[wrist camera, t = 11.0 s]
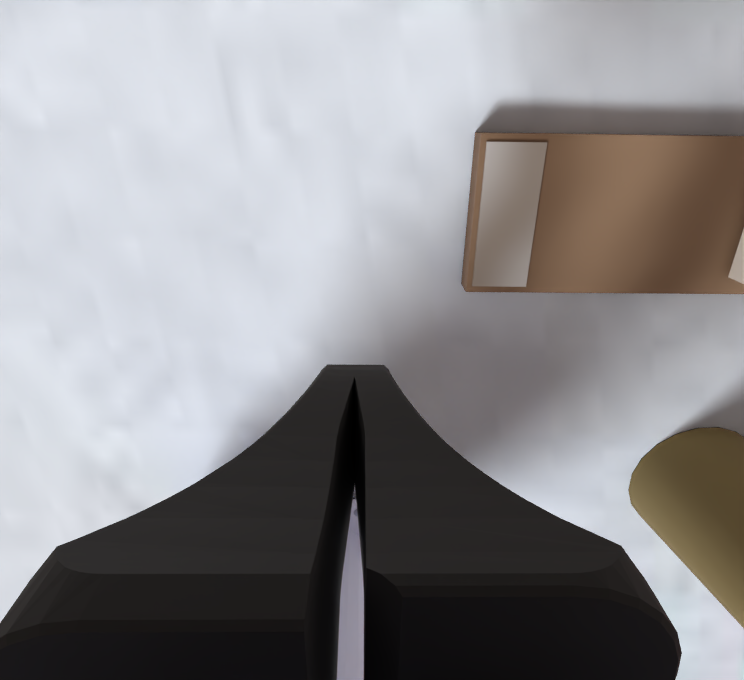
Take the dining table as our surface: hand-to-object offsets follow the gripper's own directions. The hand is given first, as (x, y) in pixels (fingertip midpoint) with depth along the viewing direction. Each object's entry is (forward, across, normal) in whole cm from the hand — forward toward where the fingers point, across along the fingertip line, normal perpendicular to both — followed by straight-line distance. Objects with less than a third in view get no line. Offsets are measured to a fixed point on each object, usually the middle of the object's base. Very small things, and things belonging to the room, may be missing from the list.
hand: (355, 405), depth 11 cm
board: (+9, -12, -2) cm, 15 cm away
